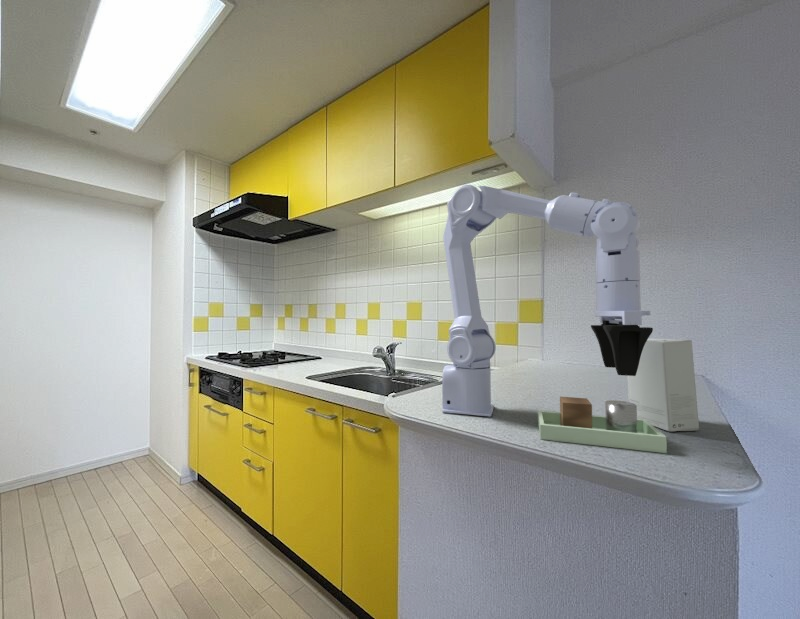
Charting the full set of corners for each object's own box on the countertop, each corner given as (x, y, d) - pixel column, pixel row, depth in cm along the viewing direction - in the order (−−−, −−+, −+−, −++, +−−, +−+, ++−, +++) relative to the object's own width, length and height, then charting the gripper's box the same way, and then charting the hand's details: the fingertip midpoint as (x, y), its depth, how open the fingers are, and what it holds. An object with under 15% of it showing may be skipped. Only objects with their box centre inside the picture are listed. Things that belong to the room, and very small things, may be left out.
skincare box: (700, 431, 54) (697, 340, 54) (667, 433, 53) (665, 340, 54) (653, 415, 62) (652, 336, 63) (625, 417, 62) (623, 337, 62)
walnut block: (563, 434, 52) (562, 402, 52) (560, 426, 56) (559, 396, 56) (592, 437, 50) (591, 404, 51) (587, 429, 54) (586, 398, 54)
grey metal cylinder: (608, 439, 50) (608, 405, 50) (603, 430, 53) (602, 399, 54) (640, 442, 48) (640, 408, 48) (632, 433, 52) (632, 401, 52)
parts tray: (540, 439, 51) (540, 424, 51) (538, 423, 59) (537, 410, 59) (666, 453, 46) (666, 437, 46) (646, 433, 53) (645, 419, 53)
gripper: (668, 276, 43) (670, 381, 43) (632, 285, 57) (634, 365, 57) (605, 278, 46) (607, 378, 45) (586, 287, 59) (587, 363, 59)
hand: (619, 371), depth 51 cm, fingers open, 7 cm apart
